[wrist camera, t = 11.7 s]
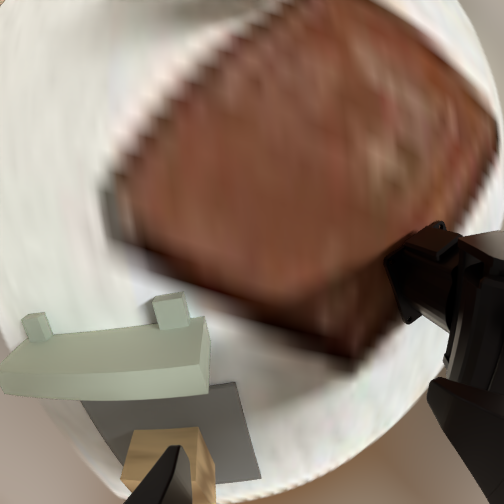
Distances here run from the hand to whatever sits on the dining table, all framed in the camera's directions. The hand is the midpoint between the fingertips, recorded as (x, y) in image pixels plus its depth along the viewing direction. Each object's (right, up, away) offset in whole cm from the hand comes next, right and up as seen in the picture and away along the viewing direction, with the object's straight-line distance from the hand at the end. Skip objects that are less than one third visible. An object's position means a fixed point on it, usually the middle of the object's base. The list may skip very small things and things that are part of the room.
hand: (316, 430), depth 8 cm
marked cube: (-9, -12, +13) cm, 20 cm away
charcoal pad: (-9, -12, +14) cm, 21 cm away
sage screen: (-13, -1, +11) cm, 17 cm away
